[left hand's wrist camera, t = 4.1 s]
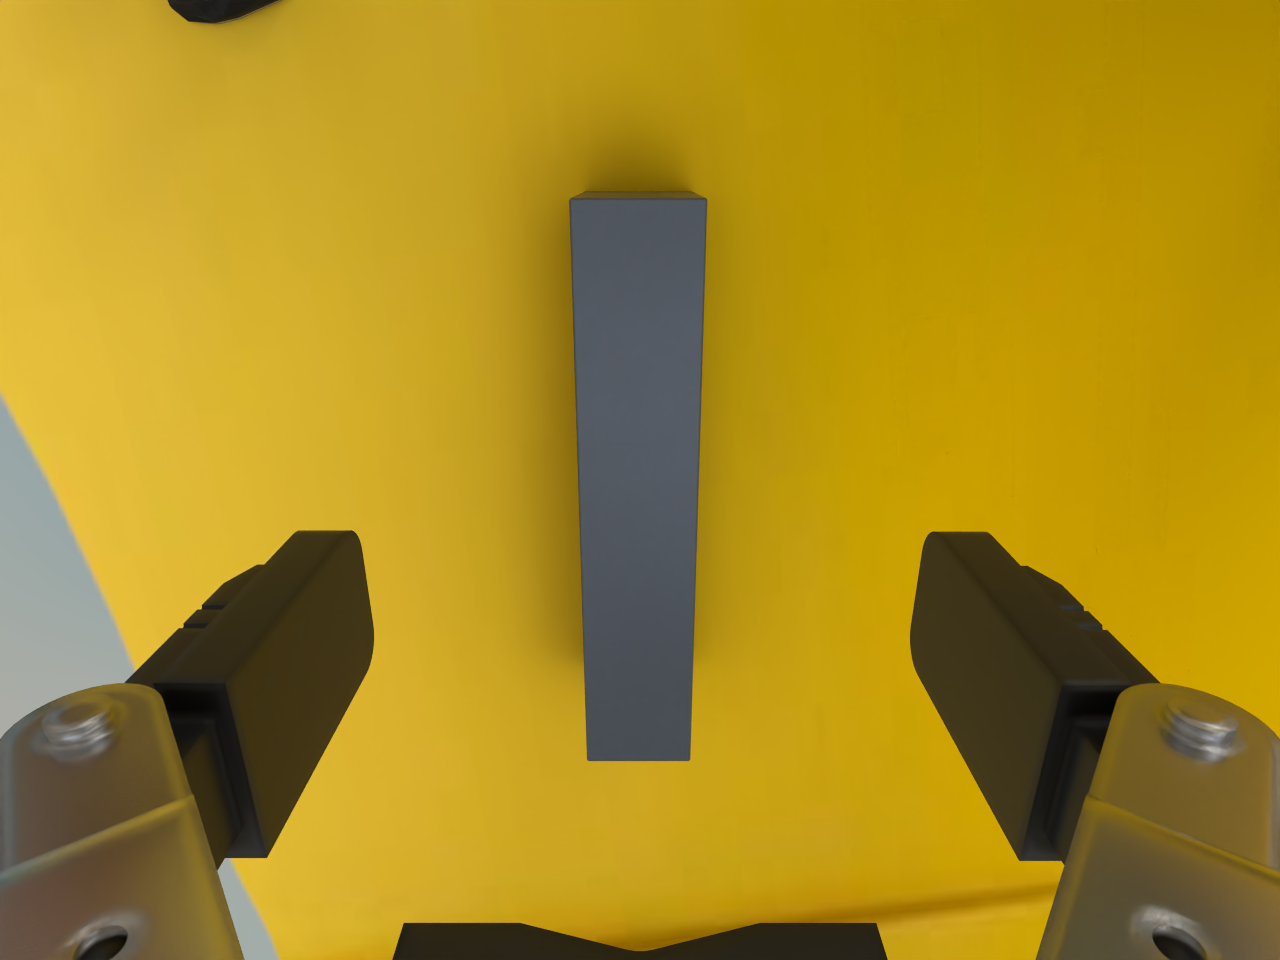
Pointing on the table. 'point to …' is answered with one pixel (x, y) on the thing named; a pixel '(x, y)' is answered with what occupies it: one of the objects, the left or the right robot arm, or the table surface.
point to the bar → (638, 462)
